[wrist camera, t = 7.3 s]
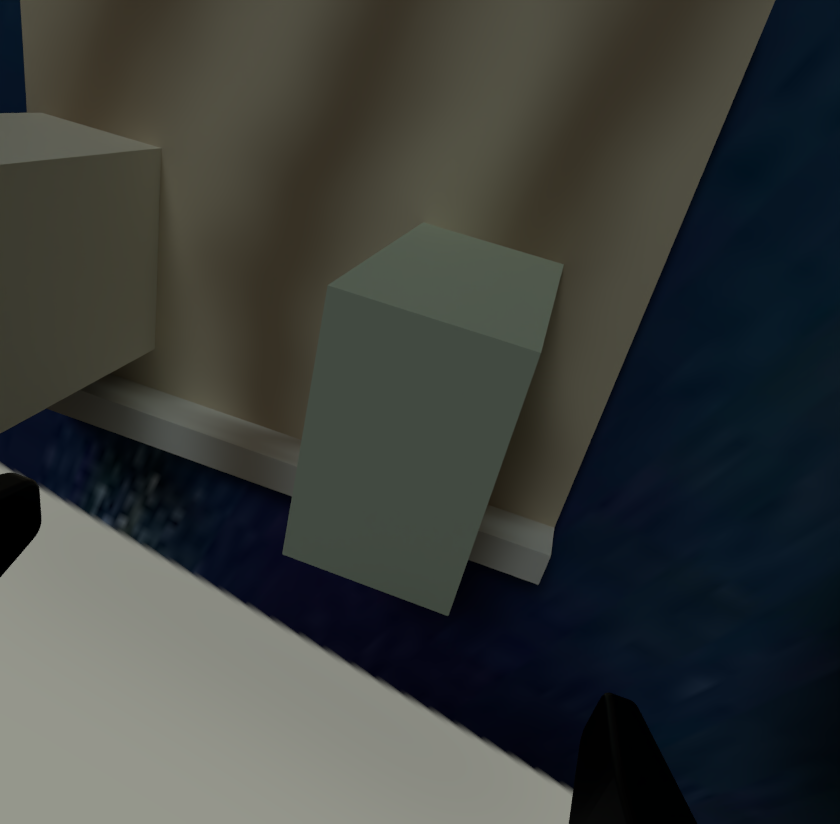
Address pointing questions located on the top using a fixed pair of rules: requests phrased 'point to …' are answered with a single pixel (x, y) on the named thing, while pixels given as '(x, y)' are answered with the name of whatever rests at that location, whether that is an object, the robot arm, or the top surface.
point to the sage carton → (415, 409)
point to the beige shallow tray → (390, 194)
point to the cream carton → (72, 258)
